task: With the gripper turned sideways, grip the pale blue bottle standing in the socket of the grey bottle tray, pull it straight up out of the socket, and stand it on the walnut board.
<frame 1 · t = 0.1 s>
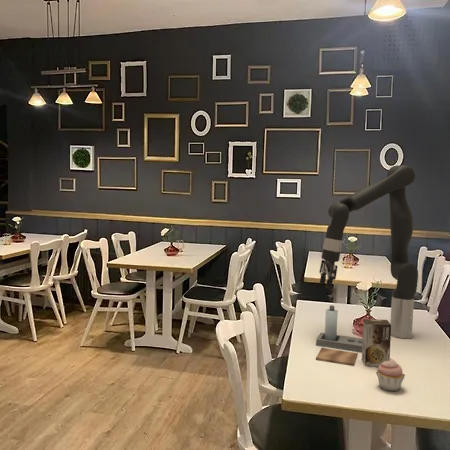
hand: (325, 286, 205), 22 cm above the table, tool pointing down, fingers open, 8 cm apart
pale blue bottle: (330, 343, 199), resting in grey bottle tray
walnut board: (336, 357, 183), on the table
cupcake: (389, 388, 157), on the table
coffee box: (374, 364, 178), on the table
grey bottle tray: (343, 345, 197), on the table
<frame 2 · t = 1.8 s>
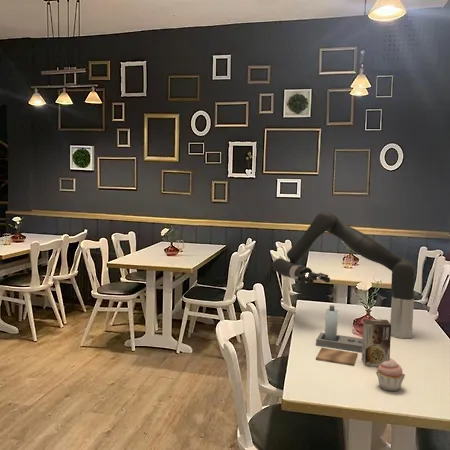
hand: (321, 280, 208), 24 cm above the table, tool horizontal, fingers open, 8 cm apart
nothing on the table moved.
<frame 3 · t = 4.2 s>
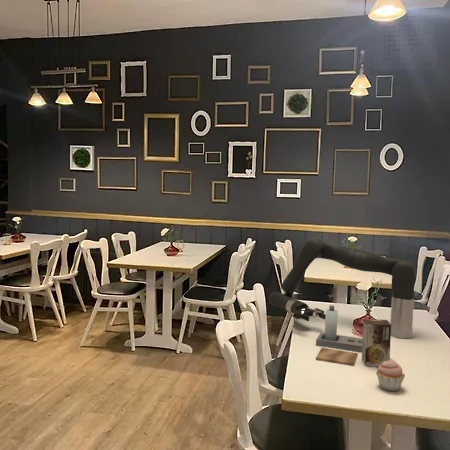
hand: (316, 318, 207), 8 cm above the table, tool horizontal, fingers open, 8 cm apart
nothing on the table moved.
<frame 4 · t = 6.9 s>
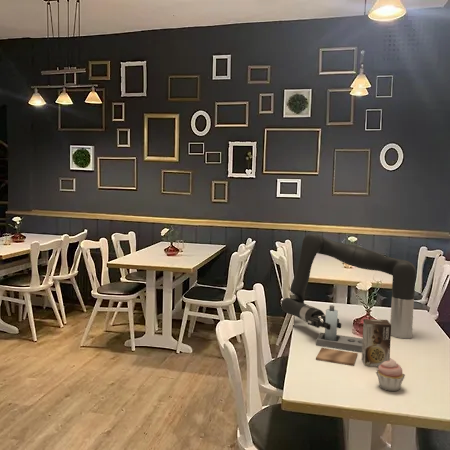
hand: (335, 326, 196), 8 cm above the table, tool horizontal, fingers closed on pale blue bottle, 4 cm apart
pale blue bottle: (330, 343, 199), resting in grey bottle tray, touching gripper
everything else where it was.
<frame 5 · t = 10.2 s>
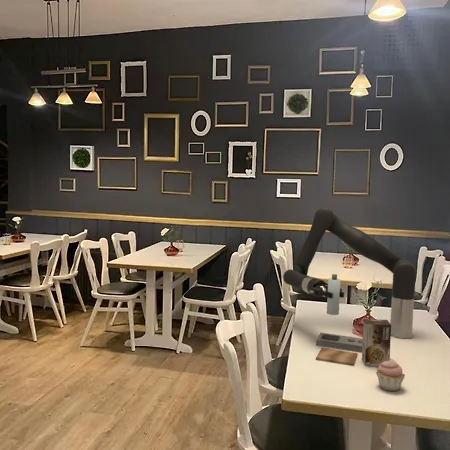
hand: (337, 295, 191), 22 cm above the table, tool horizontal, fingers closed on pale blue bottle, 4 cm apart
pale blue bottle: (332, 313, 194), point 14 cm above the table, touching gripper
everything else where it was.
when the fingers open (10 cm above the table, at t = 13.6 s): pale blue bottle drops 1 cm, resting on walnut board.
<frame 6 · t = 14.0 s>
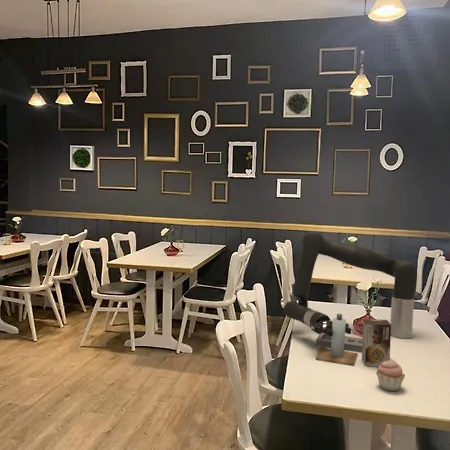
hand: (341, 332, 180), 10 cm above the table, tool horizontal, fingers open, 8 cm apart
pale blue bottle: (336, 355, 183), point 1 cm above the table, touching walnut board
everything else where it was.
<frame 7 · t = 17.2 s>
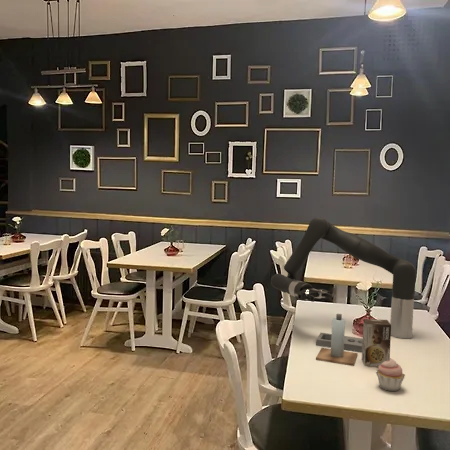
hand: (322, 298, 195), 20 cm above the table, tool horizontal, fingers open, 8 cm apart
nothing on the table moved.
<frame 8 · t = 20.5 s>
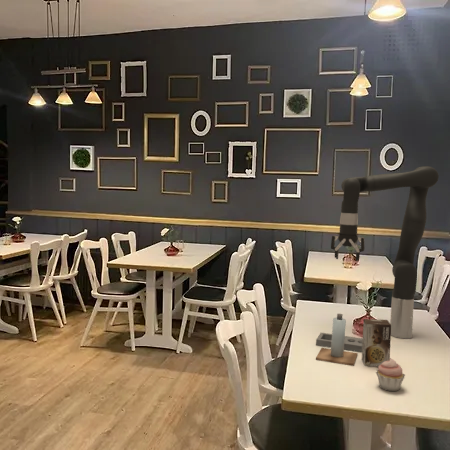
hand: (346, 259, 210), 33 cm above the table, tool pointing down, fingers open, 8 cm apart
nothing on the table moved.
at the end: pale blue bottle inside the target area (0.1 cm from its centre), point 0.9 cm above the table; pale blue bottle tilted 2°; the gripper is holding nothing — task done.
